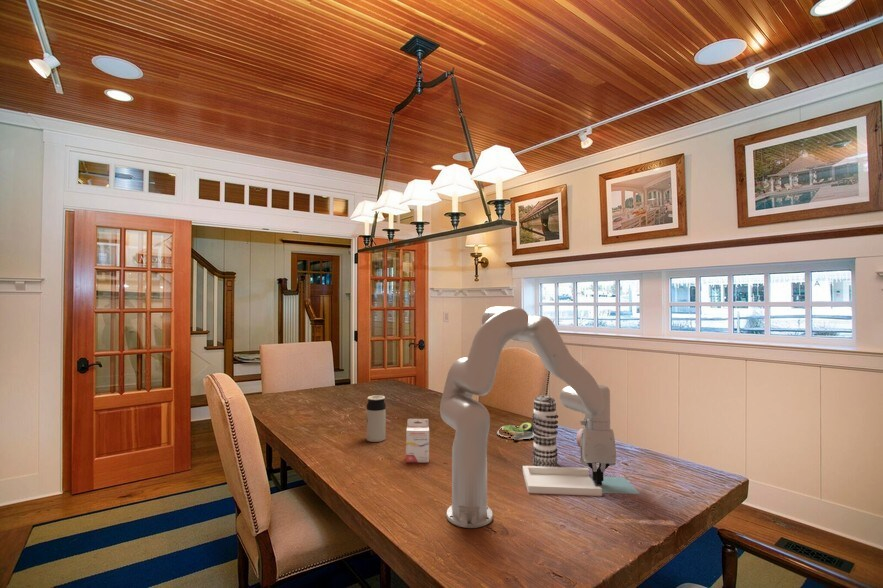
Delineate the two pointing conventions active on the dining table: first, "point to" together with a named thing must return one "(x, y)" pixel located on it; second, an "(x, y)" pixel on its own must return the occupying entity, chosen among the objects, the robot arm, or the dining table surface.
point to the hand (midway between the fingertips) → (597, 482)
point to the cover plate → (617, 486)
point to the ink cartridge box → (417, 441)
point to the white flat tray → (560, 481)
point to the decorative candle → (545, 431)
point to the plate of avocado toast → (519, 431)
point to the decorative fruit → (579, 437)
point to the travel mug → (376, 418)
